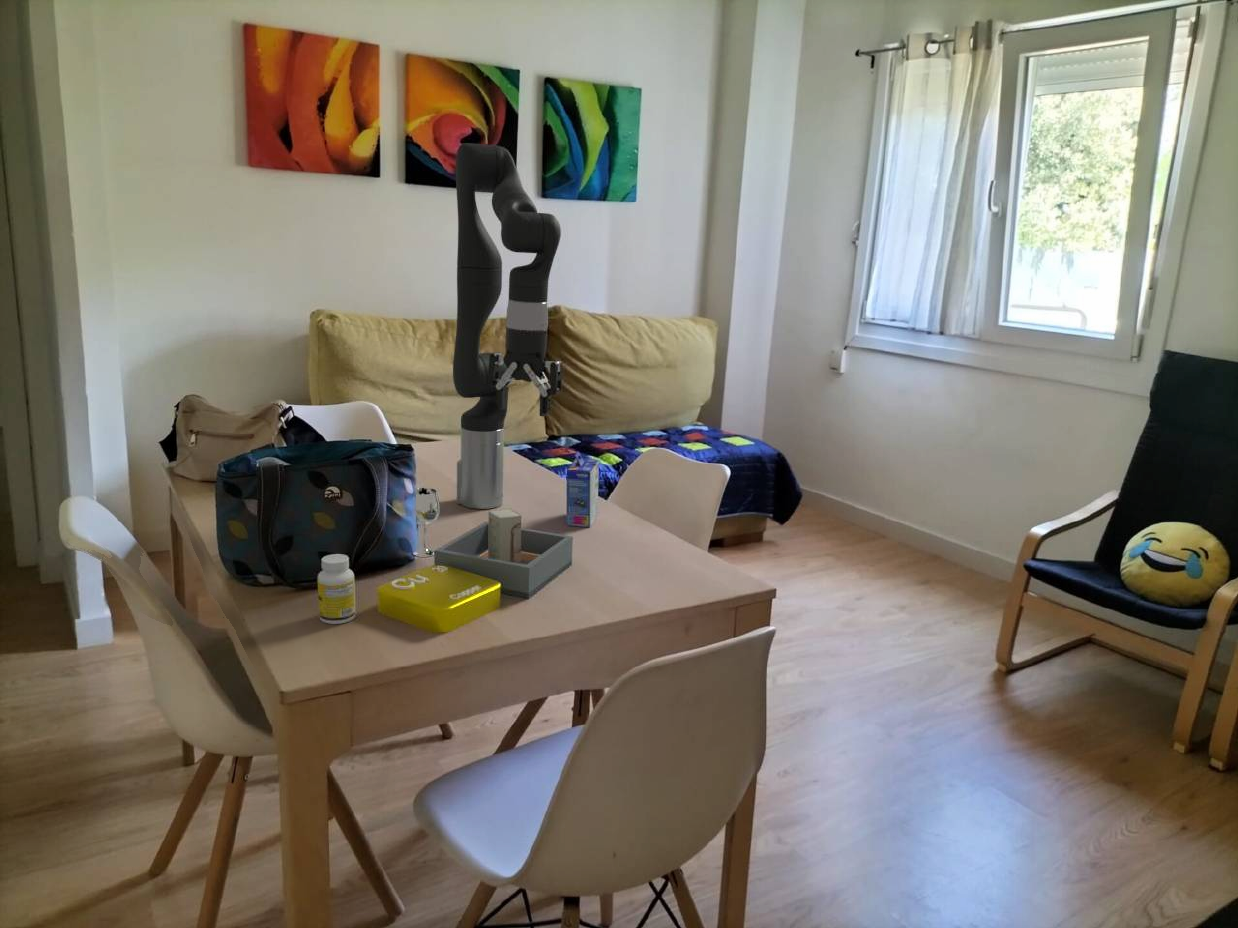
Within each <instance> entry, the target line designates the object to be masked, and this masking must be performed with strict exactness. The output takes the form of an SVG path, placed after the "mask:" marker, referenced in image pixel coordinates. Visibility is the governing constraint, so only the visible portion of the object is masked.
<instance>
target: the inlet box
mask: <svg viewBox="0 0 1238 928" xmlns="http://www.w3.org/2000/svg"><path fill="white" fill-rule="evenodd" d="M488 524H489V521H488V522H487V521H485V522H482V523H480V524H479V525H477V526H475V527H474V528H472V529H470V530H467V532H464V533H463V534H461V535H459V536H457V537H455V538H454V539H452V540H450V541H448V542H447V543H444V544H443V545H441V546H440V547H437V548H436V549H433V550H434V555H433V556H434V564H433V565H435V564H443V565H447V566H450V567H453V568H457V569H460V570H463V571H466V572H470V573H473V574H476V575H479V576H483V577H486V578H489V579H492V580H496V581H498V582H499V583H501V595H505V596H506V595H507V596H512V597H516V598H522V599H526V600H530V599H531V598H532V597H533V596H534V595H535V594H537V593H538V592H540V591H541V590H542V589H544V588H545V587H546V586H547V585H548V584H550V583H551V582H553V580H555V579H556V578H557V577H559V576H560V575H561V574H563V573H564V572H565V571H566V570H567V569H569V568H570V567H571V566H572V565H573V545H574V544H573V538H574V537H573V536H571V535H565V534H559V533H554V532H547V531H543V530H542V531H541V530H535V529H529V528H524V527H521V564H518V563H513V562H507V561H502V560H496V559H491V558H488Z"/></svg>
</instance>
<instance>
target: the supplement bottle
mask: <svg viewBox="0 0 1238 928" xmlns="http://www.w3.org/2000/svg"><path fill="white" fill-rule="evenodd" d="M321 569H322V570H321V571H320V572H319V573H318V574H317V595H318V596H317V598H318V613H319V619H320V621H322V622H323V623H325V624H329V625H337V624H338V625H341V624H345V623H349V622H351V621H352V620H354V619H355V617H356V588H355V586H356V585H355V573H354V572H353V570H352V569H350V558H349V556H348V555H346V554H344V553H343V554H341V553H335V554H333V553H332V554H327V555H325V556H323V557H322V558H321Z"/></svg>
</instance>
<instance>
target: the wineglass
mask: <svg viewBox="0 0 1238 928" xmlns="http://www.w3.org/2000/svg"><path fill="white" fill-rule="evenodd" d="M415 489H416V520H417V523H416V524H417V525H419V526H421V529H420V531H421V535H422V536H421V537H422V545H421V547H420V548H417V549H418V554H417V556H418V558H428V557H433V556H434V550H435V549H432V548H427V547H426V533H427V532H428V531H427V525H430V524H432V523H434V522H435V521H437V519H438V518H439V515H440V511H441V510H440V509H441V507H440V506H441V505H440V500H439V495H438V492H437V490H436V489H434V488H431V487H417V488H415ZM417 556H416V557H417Z"/></svg>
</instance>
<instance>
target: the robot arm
mask: <svg viewBox="0 0 1238 928" xmlns="http://www.w3.org/2000/svg"><path fill="white" fill-rule="evenodd" d="M455 183H456V184H455V185H456V186H455V187H456V189H455V190H456V202H457V203H456V204H457V223H458V224H457V255H456V258H457V260H456V266H457V267H456V295H457V296H456V297H457V298H456V299H457V301H456V302H457V303H456V304H457V308H456V309H457V311H456V329H455V330H456V332H455V341H454V342H455V343H454V349H453V350H454V352H453V362H452V380H453V385H454V388H455V391H456V392H457V394H458V395H459V396H460V397H462V398H464V399H474V398H479V400H478V402H477V403H476V404H474V405H473V407H471V408H469V409H468V410H466V411H465V412H463V413H462V414H461V416H460V460H458V461H457V462H456V504H459V505H462V506H463V507H466V508H470V509H478V510H483V509H485V510H486V509H494V508H498V507H500V506H502V505H503V501H504V499H503V497H504V493H503V491H504V448H505V446H504V442H505V440H504V439H505V437H504V436H505V433H504V432H505V429H504V428H505V419H506V417H507V412H508V406H509V405H508V403H509V401H508V400H509V389H510V388H509V385H510V384H511V383H512V381H514V380H515V381H524V382H527V383H531V382H532V383H533V385H534V386H535V388H537V390H538V391H539V393H540V395H541V396H539V416H540V417H546V416H548V415H549V413H550V412H551V409H552V396H554V395H557V394H560V393H562V392H563V374H562V373H563V370H562V369H563V363H562V361H560V360H555V361H549V360H547V357H546V356H547V355H546V353H547V346H548V344H547V343H548V342H547V341H548V327H549V311H548V310H549V309H548V291H549V281H550V279H549V278H550V274H551V270H552V266H553V263H554V259H555V256H556V253H557V250H558V247H559V245H560V242H561V241H560V240H561V234H562V231H561V230H562V229H561V225H560V222H559V220H558V219H557V217H556V216H555V215H553V214H551V213H548V212H547V213H546V212H538V209H537V207H536V204H535V203H534V201H532V199H531V197H530V196H529V195H528V194H527V192H526V191H525V190H524V187H523V184H522V182H521V178H520V175H519V172H518V168H517V166H516V164H515V161H514V158H513V156H512V155H511V153H510V152H509V150H508V149H507V148H505V147H503V146H500V145H494V144H482V143H481V144H480V143H470V142H465V143H461V144H460V145H459V147H458V149H457V152H456V156H455ZM476 193H486V194H487V193H489V194H491V193H492V195H491V207H492V210H493V212H494V215H495V216H496V218H497V219H498V221H499V222H500V226H501V227H500V228H501V229H500V238H501V243H502V244H503V246H504V248H505V249H507V250H508V251H510V252H512V253H522V254H523V253H524V254H535V257H534V259H533V260H532V261H531V262H530V263H529V264H526V265H521V266H516V267H513V268H512V269H510V272H509V278H508V300H507V307H506V317H505V318H506V319H505V321H506V323H505V347H504V348H505V354H502V353H501V352H500V351H498V352H497V351H496V352H481V353H480V342H481V338H482V332H483V329H484V327H485V325H486V323H487V321H488V320H489V317H490V316H491V314H492V312H493V310H494V308H495V307H496V305H497V303H498V300H499V298H500V296H501V295H502V287H503V286H502V285H503V284H502V283H503V269H502V268H503V260H502V256H501V253H500V252H499V249H498V247H497V245H496V244H495V242H494V241H493V239H492V237H491V235H490V234H489V231H487V228H486V227H485V225H484V223H483V221H482V218H481V216H480V213H479V210H478V207H477V202H476ZM546 368H547V372H548V373H549V379H548V378H547V376H546V374H545V372H544V371H545V370H546Z"/></svg>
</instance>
